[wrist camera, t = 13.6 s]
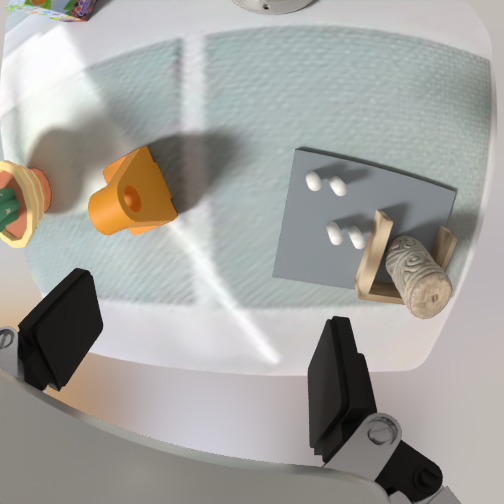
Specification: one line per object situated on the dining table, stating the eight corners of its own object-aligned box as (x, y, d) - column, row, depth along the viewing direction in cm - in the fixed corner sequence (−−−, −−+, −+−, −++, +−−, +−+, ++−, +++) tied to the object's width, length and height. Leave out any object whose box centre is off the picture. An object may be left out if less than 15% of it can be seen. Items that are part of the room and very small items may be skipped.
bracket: (111, 166, 37) (58, 188, 26) (149, 144, 35) (100, 159, 24) (140, 229, 41) (99, 268, 30) (179, 213, 39) (143, 252, 28)
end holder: (376, 209, 35) (386, 220, 31) (445, 227, 34) (458, 238, 31) (353, 283, 40) (359, 299, 36) (419, 292, 40) (428, 307, 36)
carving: (407, 220, 35) (447, 261, 24) (426, 259, 37) (462, 305, 26) (371, 245, 37) (399, 294, 26) (392, 281, 39) (420, 334, 29)
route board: (295, 149, 34) (297, 153, 29) (452, 190, 33) (470, 200, 28) (272, 273, 42) (271, 292, 37) (414, 294, 41) (425, 312, 37)
